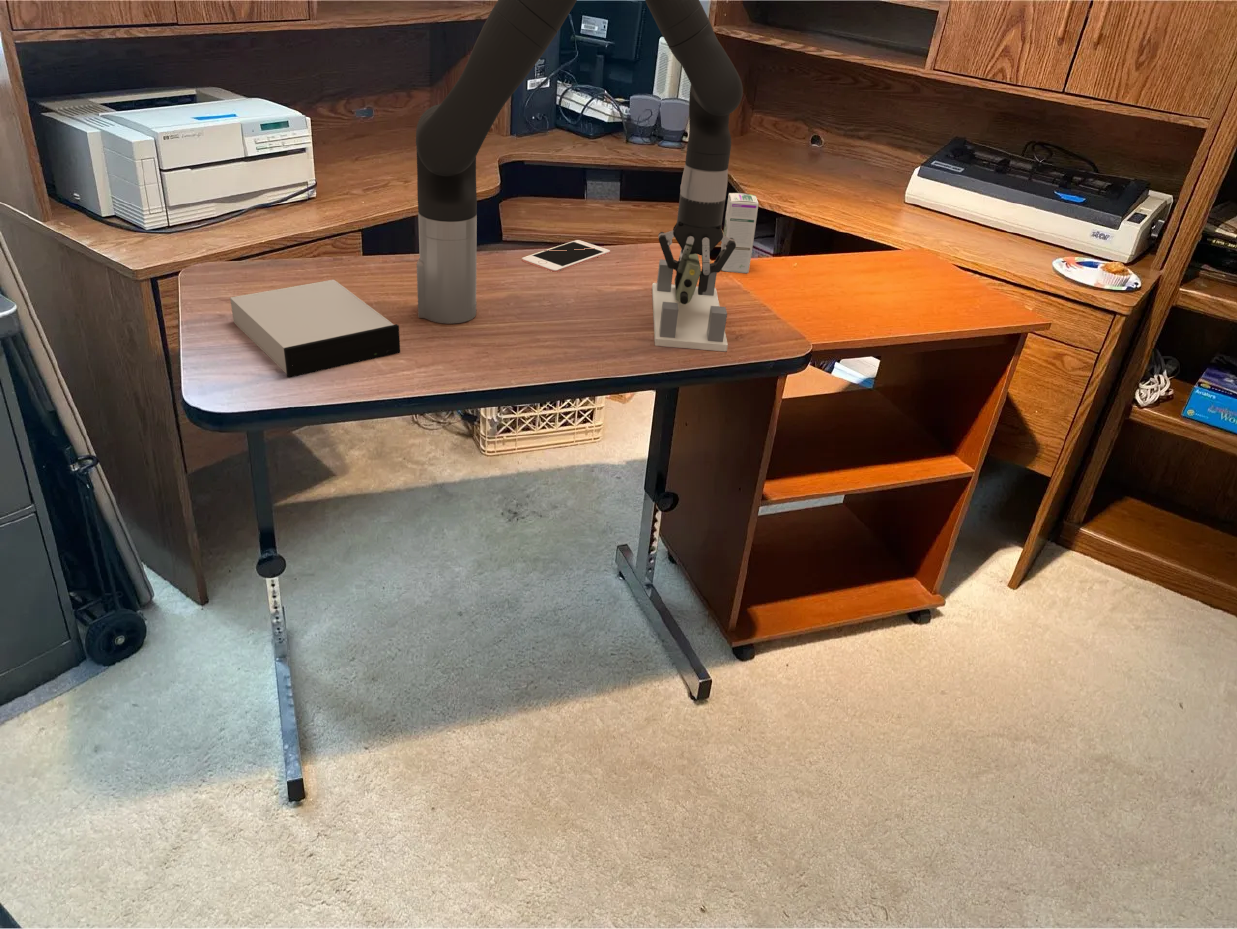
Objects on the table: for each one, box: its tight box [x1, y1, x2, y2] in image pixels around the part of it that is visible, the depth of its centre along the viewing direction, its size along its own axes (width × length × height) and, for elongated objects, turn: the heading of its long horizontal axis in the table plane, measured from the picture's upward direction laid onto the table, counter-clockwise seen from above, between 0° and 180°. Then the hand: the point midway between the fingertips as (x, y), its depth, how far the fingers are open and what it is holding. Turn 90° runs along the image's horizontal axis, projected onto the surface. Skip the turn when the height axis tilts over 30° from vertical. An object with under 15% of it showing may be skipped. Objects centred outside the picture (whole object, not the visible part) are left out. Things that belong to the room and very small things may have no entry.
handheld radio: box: [674, 254, 702, 305], centre depth 161 cm, size 7×3×25 cm
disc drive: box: [229, 279, 401, 379], centre depth 144 cm, size 18×22×5 cm
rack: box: [651, 258, 729, 352], centre depth 162 cm, size 12×26×6 cm, turn 179°
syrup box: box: [720, 192, 760, 274], centre depth 185 cm, size 6×6×14 cm
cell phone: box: [521, 239, 611, 273], centre depth 186 cm, size 9×18×1 cm, turn 144°
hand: (690, 292), depth 162 cm, fingers open, 3 cm apart
